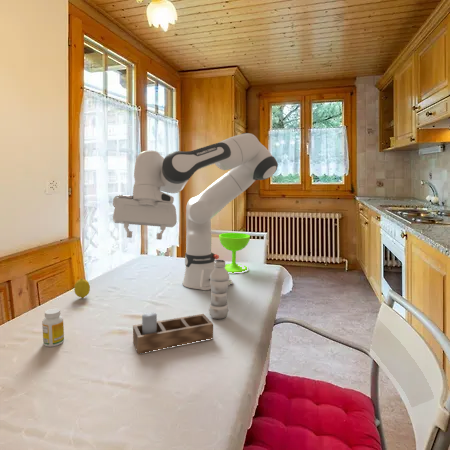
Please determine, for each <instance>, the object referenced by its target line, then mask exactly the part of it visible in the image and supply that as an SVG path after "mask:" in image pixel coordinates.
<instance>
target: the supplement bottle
mask: <svg viewBox="0 0 450 450" xmlns="http://www.w3.org/2000/svg"><path fill="white" fill-rule="evenodd" d="M41 325H42V340H43V341H42V342H43V345H44V346H45V347H49V348H50V347H51V348H52V347H56V346H59V345H61V344H63V342H64V341H65V332H64V330H65V329H64V318H63V316H62V315H61V309H60V308H58V307H55V308H49V309H46V310H45V311H44V318H43V319H42V323H41Z"/></svg>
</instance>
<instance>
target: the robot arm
mask: <svg viewBox="0 0 450 450" xmlns="http://www.w3.org/2000/svg"><path fill="white" fill-rule="evenodd" d="M278 163H279V162H278V161H277V159H276V157H274V156H273V155H272V153H271V152H270V151H269V149H267V147H266V146H265V145H263V144H262V143H261V142H260V141H259V139H258V137H257V136H256V135H254V134H253V133H249V132H244V133H240V134H238V135H237V134H236V135H234V136H230V137H228V138H226V139H223V140H221V141H219V142H217V143H213V144H209V145H206V146H203V147H200V148H197V149H194V150H189V151H184V150H183V151H181V150H177V151H173V152H169V153H168V154H167V155H166V156H165V157H163V156H162V155H161V154H160V152H158V151H157V150H144V151H141V152H140V153H139V154H138V155H137V157H136V159H135V163H134V170H133V171H134V172H133V178H134V184H133V188H132V195H124V194H118V195H116V196H114V197H113V198H112V205H113V207H114V209H113V216H112V221H113V222H114V223H115V224H123V228H124V230H125V232H126V238H130V239H132V238H133V231H131V230H130V229H129V226H130V225H136V226H149V227H159V228H160V230H161V231H160V232H157V234H156V240H160V241H161V240H162V239H163V233H164V232H165V230H166V228H173V227H175V226H176V225H177V222H178V221H177V210H176V206H175V205H174V201H175V200H174V196H172V195H170V194H178V193H181V191H183V189H184V188H185V186H186V185H187V183H188V182H189V180H190V179H191V177H192V176H193V175H194V173H196V172H197V171H198V170H201V169H203V168H207V167H209V166H212V165H215V166H216V167H217V168H219V169H220V170H222V171H227V172H225V173H224V174H223V175H222V176H220V177H219V178H218V179H216V180H215V181H214V182H212V183H211V184H210V185H209V186H208V187H207V188H206V189H205V190H203V191H202V192H200V194H198V195H196V196H193V197H190V199H188V201H187V204H186V207H185V210H186V211H185V221H186V222H185V223H186V224H185V226H186V227H185V231H186V237H185V238H186V241H185V244H186V246H185V247H186V250H185V251H186V252H185V254H184V265H185V270H184V271H185V272H184V277H183V281H182V286H184V287H185V288H190V289H194V290H195V289H197V290H201V291H209V290H210V291H211V282H210V275H211V272H212V271H213V270H214V268H215V267H214V261H215V260H219V259H220V256H219V255H218V254H217V253H216V254H215V253H213V252H212V236H213V235H212V221H211V220H212V219H213V218H214V217H215V216H216V215H218V214H219V212H221V211H222V210H223V209H224V208H225V207H226V206H227V205H228V204H230V203H231V202H232V201H234V200H235V199H236V198H237V197H239V196H240V195H241V194H243V193H244V192H245V191H246V190H248V188H250V187H251V186H252V184H253V183H255V182H256V181H263V180H268V179H269V178H271V177H272V176H273V175H274V174H275V173H276V171H277V169H278V167H279V166H278V165H279V164H278ZM168 193H169V194H168ZM232 283H233V279H232V278H230V277H229V282H228V286H231V285H230V284H232ZM233 284H234V283H233ZM233 284H232V285H233Z"/></svg>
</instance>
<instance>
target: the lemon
mask: <svg viewBox="0 0 450 450" xmlns="http://www.w3.org/2000/svg"><path fill="white" fill-rule="evenodd" d="M73 290H74V293H75V295H76V296H77V297H78V298H81V299H84V298H85V297H87V296H88V295H89V293H90V291H91V286H90V283H89V281H88V280H87V279H84V278H83V277H82V278H80V279H78V280H77V281H76V282H75V284H74V289H73Z"/></svg>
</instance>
